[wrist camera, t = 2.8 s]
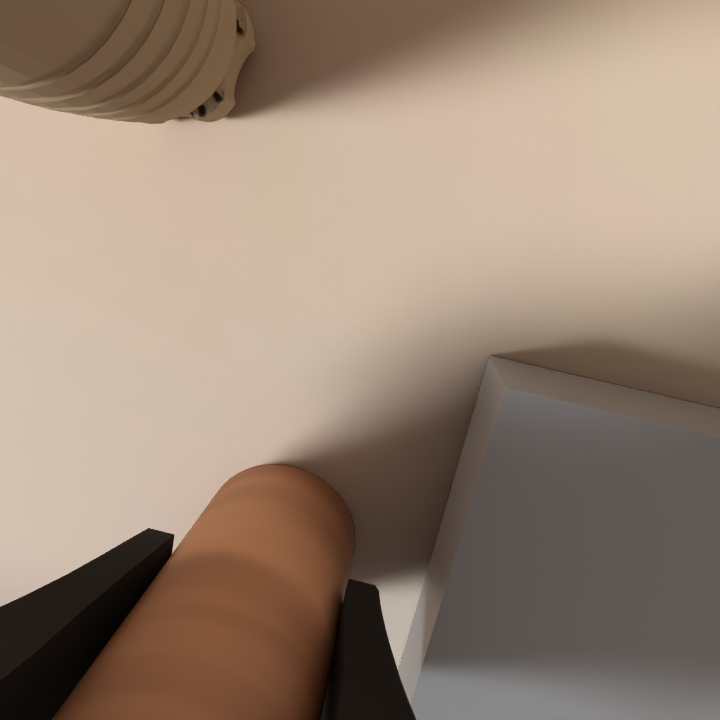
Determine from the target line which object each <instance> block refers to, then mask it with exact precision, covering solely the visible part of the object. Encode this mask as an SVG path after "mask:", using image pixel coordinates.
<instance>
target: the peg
mask: <svg viewBox="0 0 720 720" xmlns="http://www.w3.org/2000/svg"><path fill="white" fill-rule="evenodd" d="M354 545H355V531H354V524H353V521H352V517H351V515H350V512H349V510H348V508H347V506H346V505H345V503H344V501H343V500H342V498H341V497H340V496H339V495H338V493H337V492H336V491H335V490H334V489H333V488H332V487H331V486H330V485H329V484H327V483H326V482H325V481H323V480H322V479H321V478H319V477H317V476H315V475H314V474H312V473H310V472H307V471H305V470H303V469H299V468H296V467H292V466H287V465H277V464H271V465H261V466H256V467H252V468H249V469H246V470H244V471H242V472H240V473H238V474H236V475H235V476H233V477H232V478H230V479H229V480H228V481H227V482H226V483H225V484H224V485H223V486H222V487H221V488H220V490H219V491H218V492H217V494H216V495H215V496H214V498H213V499H212V500H211V502H210V503H209V504H208V506H207V507H206V509H205V510H204V511H203V513H202V514H201V515H200V517H199V518H198V520H197V521H196V522H195V524H194V525H193V526H192V528H191V529H190V530H189V532H188V533H187V535H186V536H185V537H184V539H183V540H182V541H181V543H180V544H179V546H178V547H177V548H176V550H175V551H174V552H173V554H172V555H171V556H170V558H169V559H168V561H167V562H166V563H165V565H164V566H163V567H162V569H161V570H160V572H159V573H158V574H157V576H156V577H155V578H154V580H153V581H152V582H151V584H150V585H149V587H148V588H147V589H146V591H145V592H144V593H143V595H142V596H141V598H140V599H139V600H138V602H137V603H136V604H135V606H134V607H133V609H132V610H131V611H130V613H129V614H128V615H127V617H126V618H125V619H124V621H123V622H122V624H121V625H120V626H119V628H118V629H117V630H116V632H115V633H114V635H113V636H112V637H111V639H110V640H109V641H108V643H107V644H106V645H105V647H104V648H103V650H102V651H101V652H100V654H99V655H98V656H97V658H96V659H95V661H94V662H93V663H92V665H91V666H90V667H89V669H88V670H87V671H86V673H85V674H84V676H83V677H82V678H81V680H80V681H79V682H78V684H77V685H76V687H75V688H74V689H73V691H72V692H71V693H70V695H69V696H68V697H67V699H66V700H65V702H64V703H63V704H62V706H61V707H60V708H59V710H58V711H57V713H56V714H55V715H54V717H53V718H52V719H51V720H321V718H322V712H323V707H324V702H325V697H326V692H327V686H328V681H329V676H330V671H331V666H332V660H333V654H334V648H335V641H336V634H337V629H338V624H339V619H340V614H341V609H342V604H343V600H344V595H345V591H346V587H347V583H348V577H349V572H350V567H351V562H352V557H353V551H354Z"/></svg>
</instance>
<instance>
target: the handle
mask: <svg viewBox="0 0 720 720" xmlns="http://www.w3.org/2000/svg"><path fill="white" fill-rule="evenodd" d="M255 48H256V41H255V33H254V28H253V24H252V21H251V18H250V16H249V14H248V12H247V10H246V9H245V7H244V5H243V4H242V3H239V2H237V1H236V0H0V96H3V97H7V98H10V99H14V100H17V101H21V102H24V103H28V104H31V105H35V106H40V107H43V108H46V109H51V110H56V111H61V112H68V113H72V114H77V115H82V116H87V117H94V118H100V119H108V120H117V121H127V122H142V123H148V124H158V123H164V122H166V121H168V120H171V119H175V118H178V117H181V116H190V117H193V118H194V119H196V120H200V121H205V122H214V121H217V120H219V119H221V118H223V117H224V116H226V115H227V114H228V113H229V112H230V111H231V110H232V109H233V107H234V106H235V104H236V100H235V96H234V93H235V85H236V82H237V78H238V75H239V72H240V70H241V68H242V66H243V63H244V61H245V60H246V58H247V57H248V55H249V54H251V53H252V52H253V51H254V50H255Z"/></svg>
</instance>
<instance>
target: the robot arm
mask: <svg viewBox="0 0 720 720" xmlns="http://www.w3.org/2000/svg"><path fill="white" fill-rule="evenodd" d="M173 541H174V534H170V533H166V532H162V531H158V530H154V529H150V528H148V529H146V530H145V531H143V532H141V533H139V534H137V535H136V536H134V537H132V538H130V539H129V540H127V541H125V542H123V543H122V544H120V545H118V546H117V547H115V548H113V549H111V550H110V551H108V552H106V553H105V554H103V555H101V556H99V557H98V558H96V559H94V560H92V561H90V562H89V563H87V564H85V565H83V566H81V567H80V568H78V569H76V570H74V571H72V572H71V573H69V574H67V575H65V576H63V577H61V578H59V579H57V580H55V581H53V582H51V583H49V584H47V585H45V586H43V587H41V588H39V589H37V590H35V591H33V592H31V593H29V594H27V595H25V596H23V597H21V598H19V599H17V600H15V601H12V602H10V603H8V604H6V605H3V606H1V607H0V720H51V719H52V718H53V717H54V715H55V714H56V713H57V711H58V710H59V708H60V707H61V706H62V704H63V703H64V702H65V700H66V699H67V697H68V696H69V695H70V693H71V692H72V691H73V689H74V688H75V687H76V685H77V684H78V682H79V681H80V680H81V678H82V677H83V676H84V674H85V673H86V671H87V670H88V669H89V667H90V666H91V665H92V663H93V662H94V661H95V659H96V658H97V656H98V655H99V654H100V652H101V651H102V650H103V648H104V647H105V645H106V644H107V643H108V641H109V640H110V639H111V637H112V636H113V635H114V633H115V632H116V630H117V629H118V628H119V626H120V625H121V624H122V622H123V621H124V619H125V618H126V617H127V615H128V614H129V613H130V611H131V610H132V609H133V607H134V606H135V604H136V603H137V602H138V600H139V599H140V598H141V596H142V595H143V593H144V592H145V591H146V589H147V588H148V587H149V585H150V584H151V582H152V581H153V580H154V578H155V577H156V576H157V574H158V573H159V572H160V570H161V569H162V567H163V566H164V565H165V563H166V562H167V561H168V559H169V558H170V556H171V555H172V548H173ZM321 720H416V717H415V715H414V713H413V710H412V708H411V705H410V703H409V700H408V698H407V695H406V692H405V690H404V687H403V684H402V682H401V679H400V676H399V673H398V670H397V667H396V664H395V660H394V657H393V654H392V650H391V647H390V644H389V640H388V637H387V633H386V629H385V624H384V620H383V616H382V611H381V605H380V598H379V591H378V589H377V587H376V586H375V585H372V584H368V583H364V582H360V581H356V580H352V579H348V583H347V587H346V591H345V595H344V600H343V604H342V609H341V614H340V619H339V624H338V629H337V634H336V641H335V648H334V654H333V660H332V666H331V671H330V676H329V681H328V686H327V692H326V697H325V702H324V707H323V712H322V718H321Z"/></svg>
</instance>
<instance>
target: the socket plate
mask: <svg viewBox="0 0 720 720" xmlns="http://www.w3.org/2000/svg"><path fill="white" fill-rule="evenodd" d="M398 673H399V676H400V679H401V682H402V684H403V687H404V690H405V692H406V695H407V698H408V700H409V703H410V705H411V708H412V710H413V713H414V715H415V717H416V720H720V409H719V408H715V407H711V406H706V405H702V404H698V403H693V402H689V401H685V400H680V399H676V398H672V397H667V396H663V395H659V394H655V393H650V392H646V391H642V390H637V389H633V388H629V387H624V386H620V385H616V384H611V383H607V382H603V381H598V380H594V379H590V378H585V377H581V376H577V375H572V374H568V373H564V372H559V371H555V370H551V369H546V368H542V367H538V366H533V365H529V364H525V363H520V362H516V361H512V360H507V359H503V358H499V357H494V356H490V355H489V358H488V362H487V365H486V369H485V372H484V376H483V379H482V383H481V386H480V390H479V393H478V397H477V400H476V404H475V407H474V411H473V414H472V418H471V421H470V424H469V428H468V431H467V435H466V438H465V442H464V445H463V449H462V452H461V456H460V459H459V463H458V466H457V470H456V473H455V477H454V480H453V483H452V487H451V490H450V494H449V497H448V501H447V504H446V508H445V511H444V515H443V518H442V522H441V525H440V529H439V532H438V536H437V539H436V542H435V546H434V549H433V553H432V556H431V560H430V563H429V567H428V570H427V574H426V577H425V581H424V584H423V588H422V591H421V595H420V598H419V602H418V605H417V608H416V612H415V615H414V619H413V622H412V626H411V629H410V633H409V636H408V640H407V643H406V647H405V650H404V654H403V657H402V661H401V664H400V667H399V671H398Z"/></svg>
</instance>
